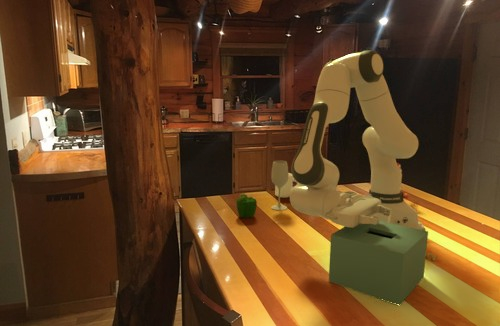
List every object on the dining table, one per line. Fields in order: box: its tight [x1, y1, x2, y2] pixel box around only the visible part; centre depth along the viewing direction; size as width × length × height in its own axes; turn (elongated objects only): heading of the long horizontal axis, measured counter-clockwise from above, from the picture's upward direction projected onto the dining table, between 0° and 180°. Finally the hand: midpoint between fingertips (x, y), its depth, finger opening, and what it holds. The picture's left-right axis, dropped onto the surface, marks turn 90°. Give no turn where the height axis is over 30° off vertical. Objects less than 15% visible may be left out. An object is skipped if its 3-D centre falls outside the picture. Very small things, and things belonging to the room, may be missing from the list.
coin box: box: [328, 221, 429, 306], centre depth 114 cm, size 20×20×14 cm
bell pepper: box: [236, 193, 258, 219], centre depth 168 cm, size 8×8×10 cm
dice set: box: [426, 252, 437, 261], centre depth 131 cm, size 5×5×2 cm
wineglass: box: [270, 160, 289, 211], centre depth 179 cm, size 8×8×21 cm
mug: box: [274, 172, 298, 199], centre depth 199 cm, size 9×12×11 cm
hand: (384, 216), depth 111 cm, fingers open, 8 cm apart
